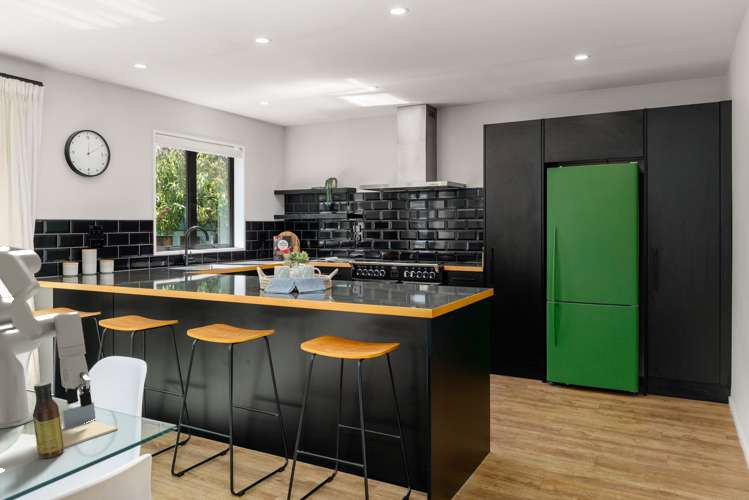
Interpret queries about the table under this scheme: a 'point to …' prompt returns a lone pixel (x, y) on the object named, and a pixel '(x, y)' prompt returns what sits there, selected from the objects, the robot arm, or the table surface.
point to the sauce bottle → (47, 422)
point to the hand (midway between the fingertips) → (79, 404)
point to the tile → (77, 415)
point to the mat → (85, 432)
